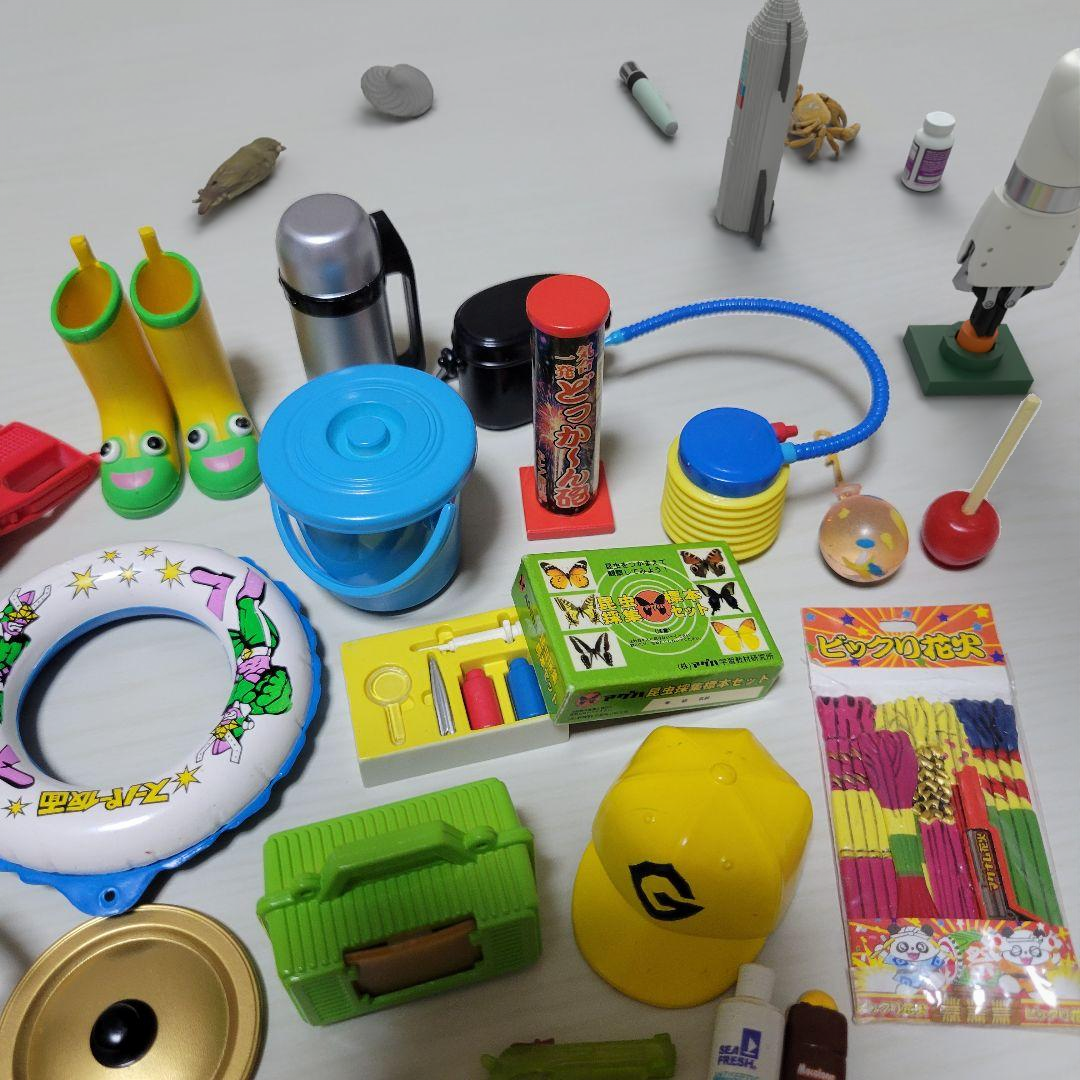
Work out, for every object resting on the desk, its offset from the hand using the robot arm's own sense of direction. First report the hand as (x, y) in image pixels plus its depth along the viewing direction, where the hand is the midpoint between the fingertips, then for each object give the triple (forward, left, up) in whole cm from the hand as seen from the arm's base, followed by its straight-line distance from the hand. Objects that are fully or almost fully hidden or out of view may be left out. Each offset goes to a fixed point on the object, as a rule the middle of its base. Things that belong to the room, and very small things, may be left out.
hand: (981, 328), depth 109 cm
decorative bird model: (+93, -40, -6) cm, 101 cm away
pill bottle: (-5, -39, -6) cm, 40 cm away
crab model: (+8, -52, -6) cm, 53 cm away
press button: (0, 0, -2) cm, 2 cm away
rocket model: (+22, -31, -6) cm, 39 cm away
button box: (0, 0, -6) cm, 6 cm away
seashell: (+72, -63, -6) cm, 96 cm away
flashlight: (+32, -61, -6) cm, 69 cm away
